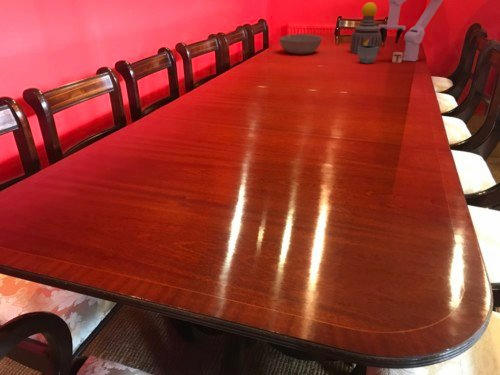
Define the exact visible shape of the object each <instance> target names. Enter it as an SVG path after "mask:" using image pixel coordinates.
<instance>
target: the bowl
mask: <svg viewBox="0 0 500 375" xmlns="http://www.w3.org/2000/svg"><path fill="white" fill-rule="evenodd" d="M322 40H323V37H321V36H319V35H316V34H315V35H314V34H307V33H305V34H304V33H300V34H299V33H298V34H287V35H285V36H281V37H280V38H279V39H278V42H279V43H280V46H281V48H282V49H283V51H285V52H286V53H289V54H291V55H292V54H293V55H308V54H312V53H314V52H316V51H317V50H318V48H319V47H320V45H321V43H322Z"/></svg>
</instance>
